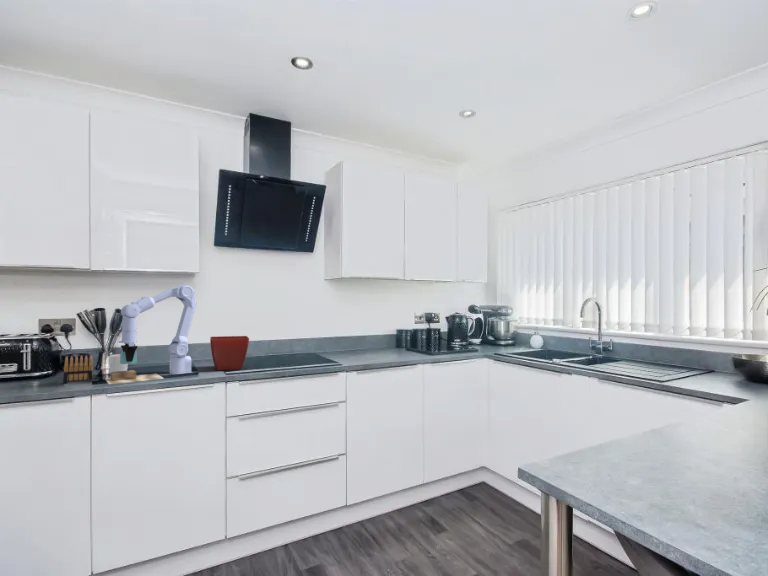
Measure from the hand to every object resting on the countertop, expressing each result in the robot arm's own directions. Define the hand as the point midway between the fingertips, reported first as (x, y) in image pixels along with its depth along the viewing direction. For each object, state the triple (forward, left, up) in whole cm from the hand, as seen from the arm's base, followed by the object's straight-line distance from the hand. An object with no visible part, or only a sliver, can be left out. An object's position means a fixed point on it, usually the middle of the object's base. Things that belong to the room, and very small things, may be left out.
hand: (128, 361), depth 185 cm
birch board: (-2, +1, -9) cm, 9 cm away
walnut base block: (+2, -2, -8) cm, 8 cm away
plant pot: (-47, -7, -9) cm, 49 cm away
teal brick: (0, 0, -1) cm, 1 cm away
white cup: (+2, -19, -9) cm, 21 cm away
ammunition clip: (+18, -11, -9) cm, 23 cm away
